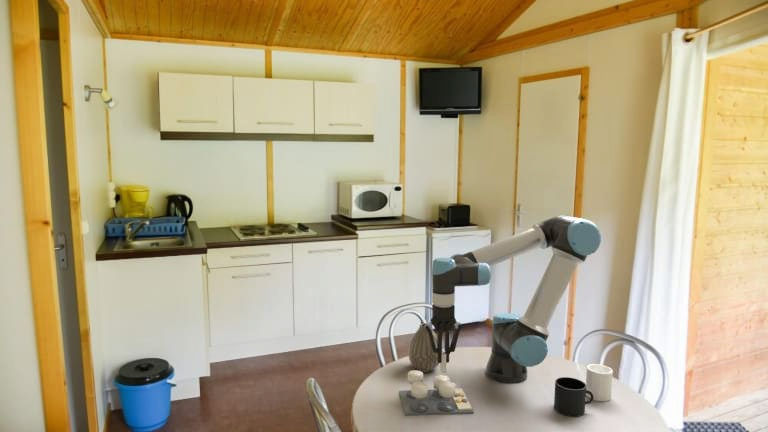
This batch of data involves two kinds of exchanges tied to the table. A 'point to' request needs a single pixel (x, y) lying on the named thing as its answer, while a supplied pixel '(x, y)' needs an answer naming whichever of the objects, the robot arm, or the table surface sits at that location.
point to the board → (435, 404)
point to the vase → (422, 350)
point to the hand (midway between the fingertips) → (443, 371)
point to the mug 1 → (570, 396)
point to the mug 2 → (599, 382)
